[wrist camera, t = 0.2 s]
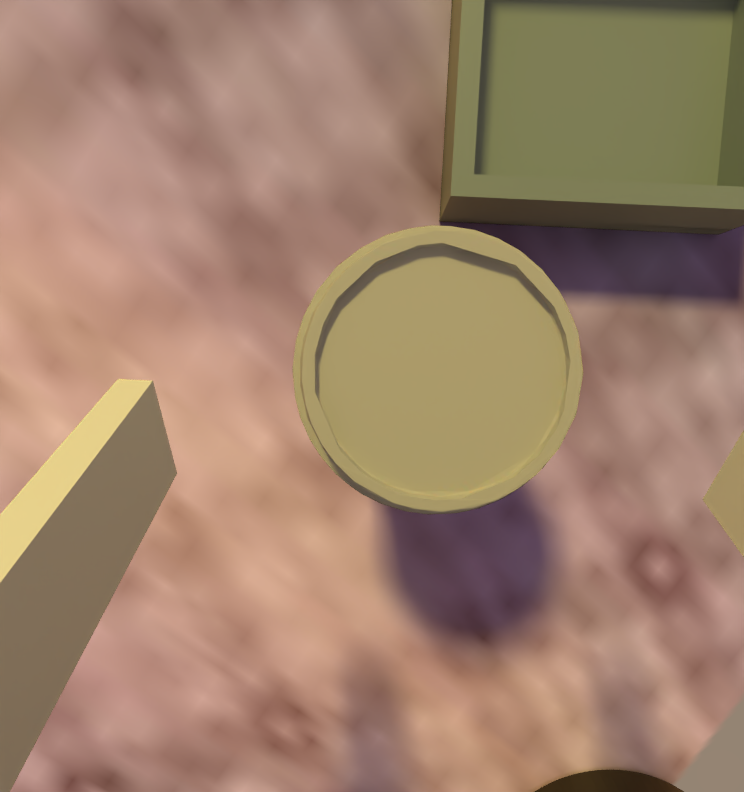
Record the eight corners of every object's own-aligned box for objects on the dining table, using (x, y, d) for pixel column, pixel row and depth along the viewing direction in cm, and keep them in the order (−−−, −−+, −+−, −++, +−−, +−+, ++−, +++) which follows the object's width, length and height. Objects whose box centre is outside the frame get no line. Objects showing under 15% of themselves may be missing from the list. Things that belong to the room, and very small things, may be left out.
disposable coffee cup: (535, 372, 27) (663, 379, 15) (408, 489, 27) (433, 587, 15) (417, 244, 26) (450, 145, 14) (290, 365, 27) (221, 367, 15)
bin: (718, 234, 26) (780, 211, 22) (439, 221, 26) (450, 195, 22) (744, -42, 25) (814, -119, 21) (455, -54, 25) (469, -133, 21)
